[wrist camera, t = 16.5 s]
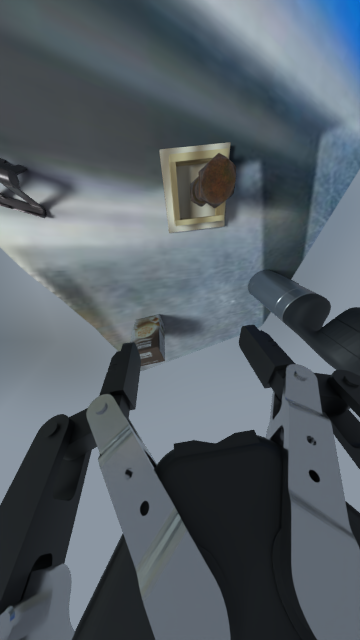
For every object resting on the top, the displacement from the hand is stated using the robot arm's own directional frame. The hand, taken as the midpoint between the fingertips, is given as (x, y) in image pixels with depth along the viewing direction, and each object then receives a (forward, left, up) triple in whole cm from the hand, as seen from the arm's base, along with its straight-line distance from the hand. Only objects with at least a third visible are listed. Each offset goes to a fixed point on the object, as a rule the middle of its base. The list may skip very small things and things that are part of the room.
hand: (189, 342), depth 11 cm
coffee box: (+10, +24, -36) cm, 45 cm away
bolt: (-8, -11, -35) cm, 37 cm away
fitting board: (-8, -11, -36) cm, 39 cm away
